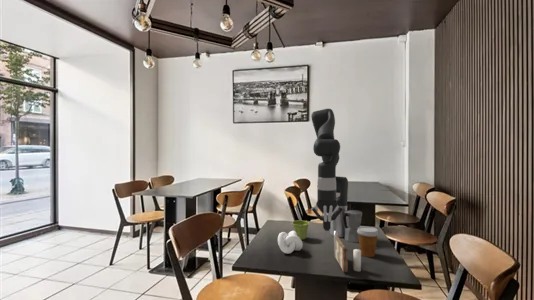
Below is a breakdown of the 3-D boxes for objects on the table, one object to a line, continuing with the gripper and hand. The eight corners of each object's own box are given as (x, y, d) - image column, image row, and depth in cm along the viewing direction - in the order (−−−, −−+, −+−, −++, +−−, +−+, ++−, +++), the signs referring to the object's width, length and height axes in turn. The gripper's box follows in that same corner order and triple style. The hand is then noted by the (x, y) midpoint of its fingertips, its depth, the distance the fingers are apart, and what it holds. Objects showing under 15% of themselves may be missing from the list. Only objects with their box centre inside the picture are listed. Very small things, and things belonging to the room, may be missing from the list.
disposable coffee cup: (364, 259, 130) (364, 232, 130) (352, 251, 139) (353, 227, 139) (382, 257, 133) (383, 231, 132) (370, 250, 142) (370, 225, 142)
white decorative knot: (286, 257, 132) (286, 238, 132) (271, 249, 142) (271, 231, 142) (305, 252, 138) (305, 234, 138) (289, 245, 148) (290, 228, 148)
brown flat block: (334, 256, 131) (334, 235, 131) (338, 256, 131) (338, 235, 131) (343, 272, 116) (343, 248, 115) (347, 272, 116) (347, 248, 115)
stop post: (351, 268, 121) (352, 249, 120) (358, 267, 121) (358, 248, 121) (355, 271, 118) (355, 252, 118) (362, 271, 118) (362, 251, 118)
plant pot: (310, 241, 155) (310, 225, 154) (292, 241, 155) (292, 224, 155) (308, 235, 164) (308, 220, 164) (291, 235, 164) (291, 220, 164)
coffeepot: (352, 235, 165) (353, 203, 164) (367, 239, 157) (368, 206, 157) (335, 241, 155) (336, 207, 155) (351, 245, 148) (351, 210, 147)
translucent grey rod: (333, 256, 133) (333, 230, 133) (336, 256, 134) (336, 230, 133) (334, 258, 132) (335, 231, 131) (338, 257, 132) (338, 231, 132)
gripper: (312, 189, 114) (312, 233, 115) (345, 189, 115) (345, 232, 115) (308, 186, 122) (309, 227, 122) (340, 186, 122) (340, 227, 123)
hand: (326, 230), depth 119 cm, fingers closed
